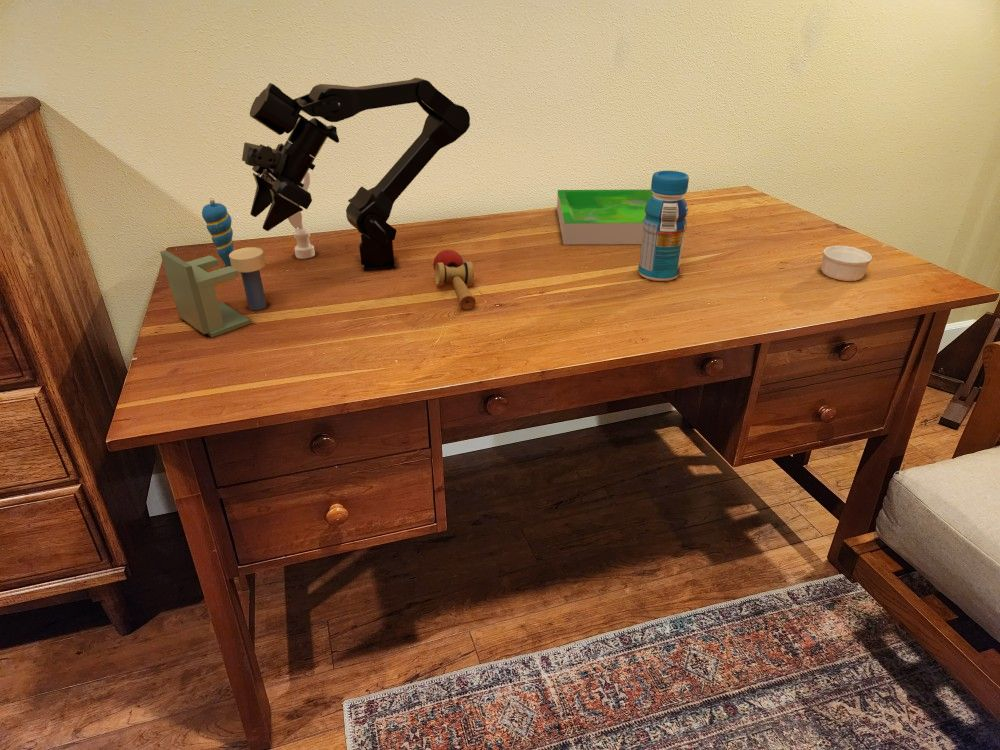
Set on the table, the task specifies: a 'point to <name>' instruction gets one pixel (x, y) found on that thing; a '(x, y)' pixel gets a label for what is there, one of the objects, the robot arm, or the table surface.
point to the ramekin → (845, 262)
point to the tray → (602, 216)
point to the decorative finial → (302, 231)
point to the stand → (201, 294)
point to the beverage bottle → (664, 226)
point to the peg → (250, 274)
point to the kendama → (455, 275)
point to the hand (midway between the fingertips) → (258, 222)
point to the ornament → (219, 229)
